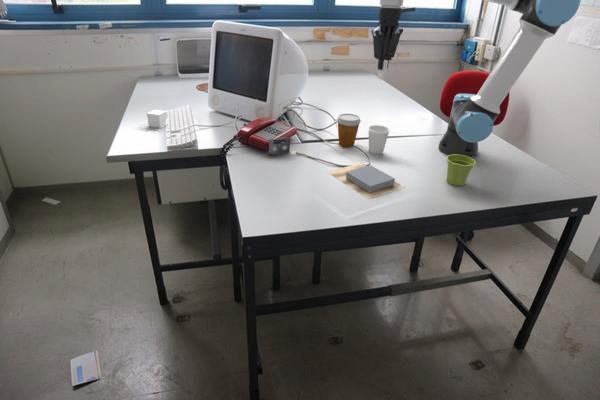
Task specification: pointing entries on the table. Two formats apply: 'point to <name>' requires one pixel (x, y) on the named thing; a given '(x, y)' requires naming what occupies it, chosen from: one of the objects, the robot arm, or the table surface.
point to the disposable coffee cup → (347, 129)
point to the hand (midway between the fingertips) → (381, 78)
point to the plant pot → (458, 168)
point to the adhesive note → (157, 118)
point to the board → (341, 176)
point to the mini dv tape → (279, 145)
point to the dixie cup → (377, 138)
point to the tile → (370, 178)
